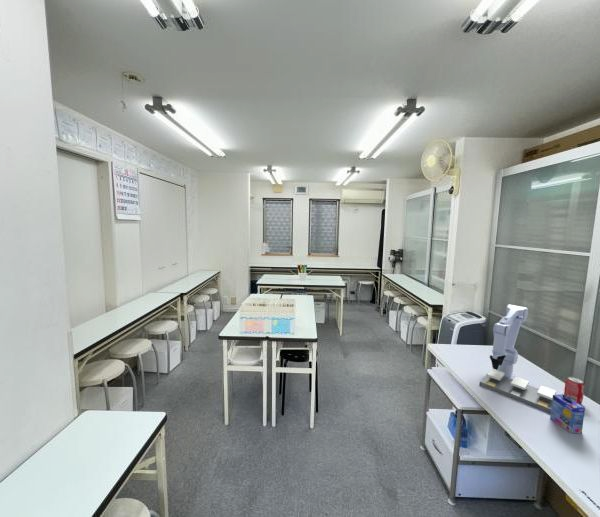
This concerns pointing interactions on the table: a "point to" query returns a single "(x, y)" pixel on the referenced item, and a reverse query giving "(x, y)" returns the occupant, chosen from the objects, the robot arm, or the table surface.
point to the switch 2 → (520, 383)
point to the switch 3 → (546, 392)
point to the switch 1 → (496, 374)
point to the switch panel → (517, 392)
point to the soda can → (574, 389)
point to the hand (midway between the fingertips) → (497, 366)
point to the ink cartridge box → (567, 413)
